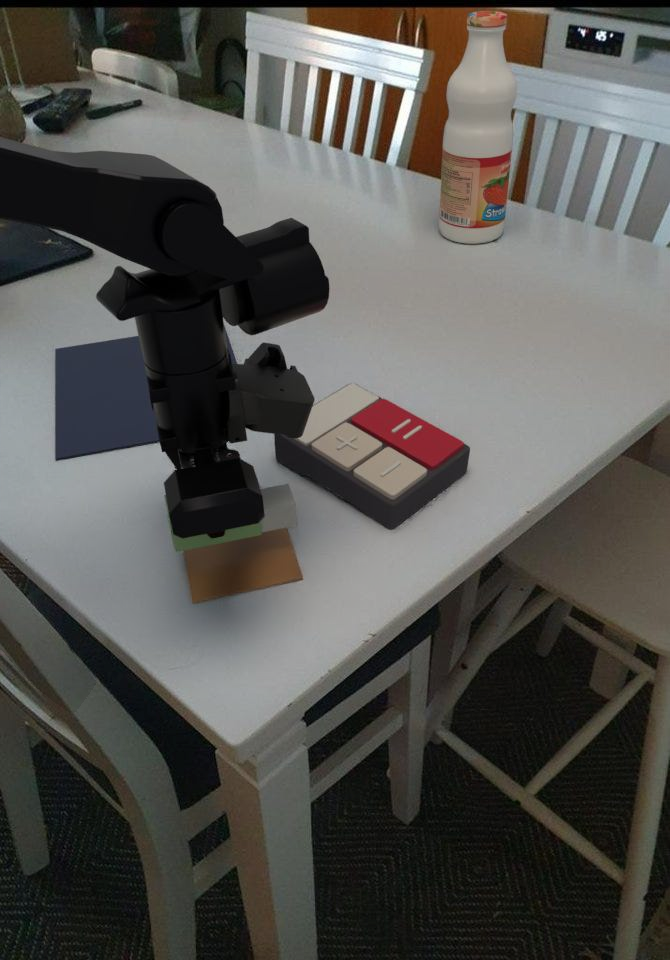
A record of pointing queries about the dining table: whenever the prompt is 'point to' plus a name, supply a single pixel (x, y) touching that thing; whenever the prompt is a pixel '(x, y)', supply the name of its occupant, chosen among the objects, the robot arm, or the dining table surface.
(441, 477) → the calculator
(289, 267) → the robot arm
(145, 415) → the napkin
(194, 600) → the coaster
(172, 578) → the dining table surface
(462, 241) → the fruit juice
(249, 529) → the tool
